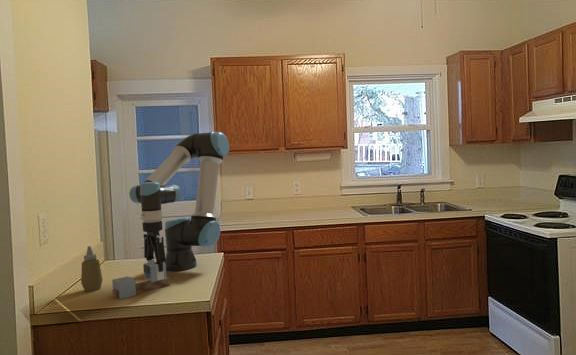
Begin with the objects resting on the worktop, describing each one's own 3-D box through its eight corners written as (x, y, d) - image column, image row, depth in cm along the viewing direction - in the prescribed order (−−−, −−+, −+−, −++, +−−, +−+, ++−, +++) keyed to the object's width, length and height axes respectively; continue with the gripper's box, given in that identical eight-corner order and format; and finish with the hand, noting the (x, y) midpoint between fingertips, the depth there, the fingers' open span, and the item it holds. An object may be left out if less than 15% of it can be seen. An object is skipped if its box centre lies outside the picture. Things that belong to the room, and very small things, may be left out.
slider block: (120, 299, 171) (119, 283, 170) (113, 295, 176) (112, 279, 176) (137, 294, 175) (136, 279, 175) (130, 290, 181) (129, 275, 180)
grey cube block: (158, 275, 188) (157, 261, 188) (166, 278, 182) (165, 264, 182) (142, 278, 184) (141, 264, 183) (150, 282, 178) (149, 267, 178)
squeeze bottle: (80, 294, 181) (76, 249, 180) (83, 288, 189) (80, 245, 188) (102, 291, 183) (98, 247, 182) (104, 286, 191) (101, 243, 190)
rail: (167, 284, 188) (166, 276, 188) (170, 286, 186) (169, 277, 186) (112, 298, 174) (112, 289, 174) (115, 299, 172) (114, 290, 171)
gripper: (133, 220, 187) (136, 275, 189) (153, 224, 172) (157, 284, 173) (150, 217, 192) (154, 271, 193) (172, 221, 177) (176, 280, 178)
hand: (156, 277), depth 183 cm, fingers closed on grey cube block, 7 cm apart
